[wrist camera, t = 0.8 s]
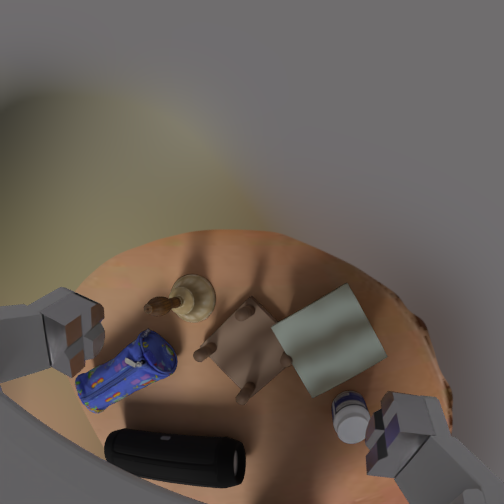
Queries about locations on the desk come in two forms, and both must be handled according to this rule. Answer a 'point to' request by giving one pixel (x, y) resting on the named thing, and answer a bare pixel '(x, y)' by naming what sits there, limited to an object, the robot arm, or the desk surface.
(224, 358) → the upturned stool
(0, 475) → the robot arm
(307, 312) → the small table
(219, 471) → the portable speaker
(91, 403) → the pencil case
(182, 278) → the hand bell
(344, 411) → the pill bottle
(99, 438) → the desk surface
